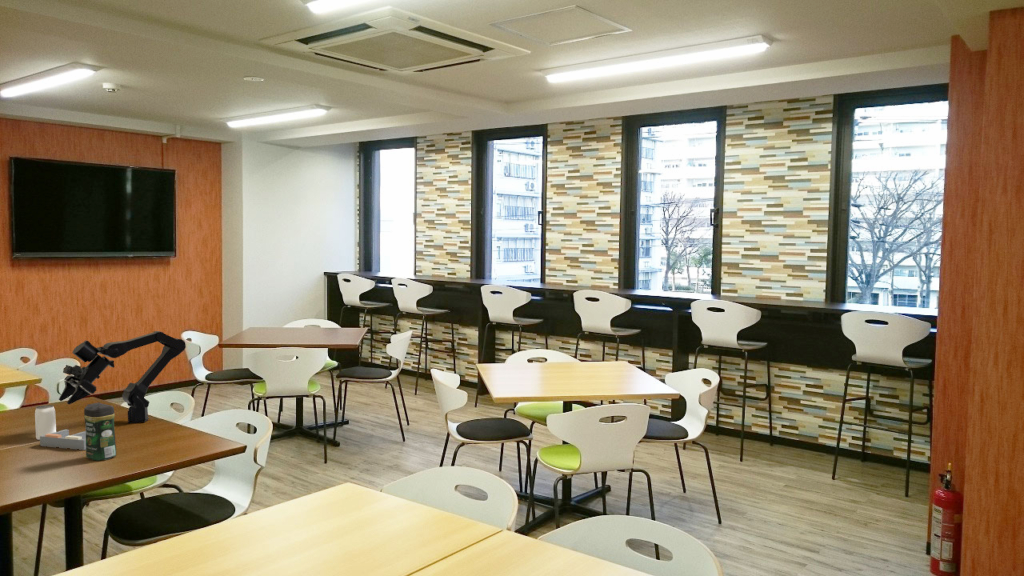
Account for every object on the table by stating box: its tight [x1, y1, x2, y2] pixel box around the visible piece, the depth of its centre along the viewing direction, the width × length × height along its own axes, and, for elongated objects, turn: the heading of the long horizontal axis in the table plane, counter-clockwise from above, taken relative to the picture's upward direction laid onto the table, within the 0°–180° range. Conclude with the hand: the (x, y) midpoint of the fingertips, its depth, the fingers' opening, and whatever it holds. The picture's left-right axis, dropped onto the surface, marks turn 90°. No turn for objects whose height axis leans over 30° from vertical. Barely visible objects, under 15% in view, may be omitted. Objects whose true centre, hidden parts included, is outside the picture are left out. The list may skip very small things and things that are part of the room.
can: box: [34, 404, 57, 441], centre depth 278 cm, size 6×6×12 cm
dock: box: [39, 429, 86, 451], centre depth 269 cm, size 10×20×4 cm, turn 72°
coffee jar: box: [83, 402, 117, 462], centre depth 251 cm, size 10×8×19 cm
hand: (63, 402), depth 283 cm, fingers open, 9 cm apart
